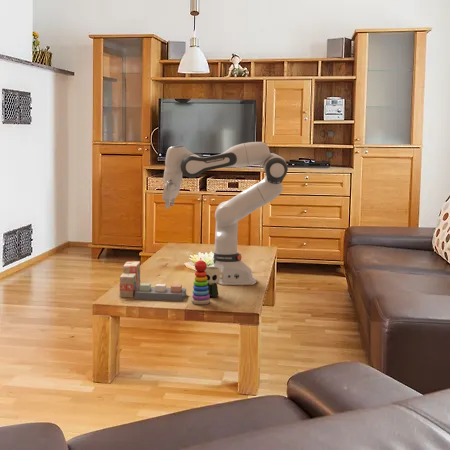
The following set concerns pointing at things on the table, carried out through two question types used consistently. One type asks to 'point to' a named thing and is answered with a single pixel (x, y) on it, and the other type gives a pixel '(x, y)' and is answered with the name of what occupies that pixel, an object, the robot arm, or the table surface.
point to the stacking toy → (200, 285)
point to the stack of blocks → (130, 279)
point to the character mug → (213, 279)
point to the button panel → (160, 295)
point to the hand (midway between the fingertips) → (169, 207)
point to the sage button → (145, 286)
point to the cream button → (160, 288)
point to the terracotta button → (176, 288)
